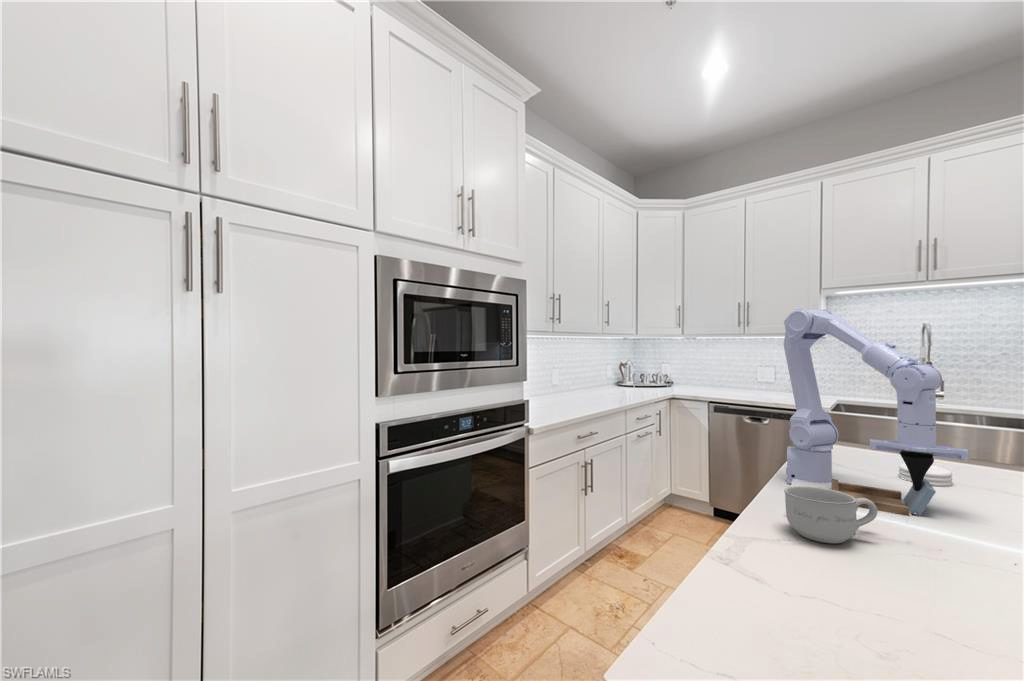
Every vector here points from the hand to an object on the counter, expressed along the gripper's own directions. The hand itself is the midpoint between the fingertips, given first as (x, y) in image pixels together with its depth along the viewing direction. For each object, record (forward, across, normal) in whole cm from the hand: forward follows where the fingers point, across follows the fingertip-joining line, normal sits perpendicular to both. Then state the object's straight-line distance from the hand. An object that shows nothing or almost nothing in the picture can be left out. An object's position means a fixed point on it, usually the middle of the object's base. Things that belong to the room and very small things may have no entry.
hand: (916, 489), depth 87 cm
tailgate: (+4, -1, 0) cm, 4 cm away
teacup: (+6, -14, -23) cm, 28 cm away
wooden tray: (+5, -8, 0) cm, 9 cm away
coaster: (+6, +6, +33) cm, 34 cm away
